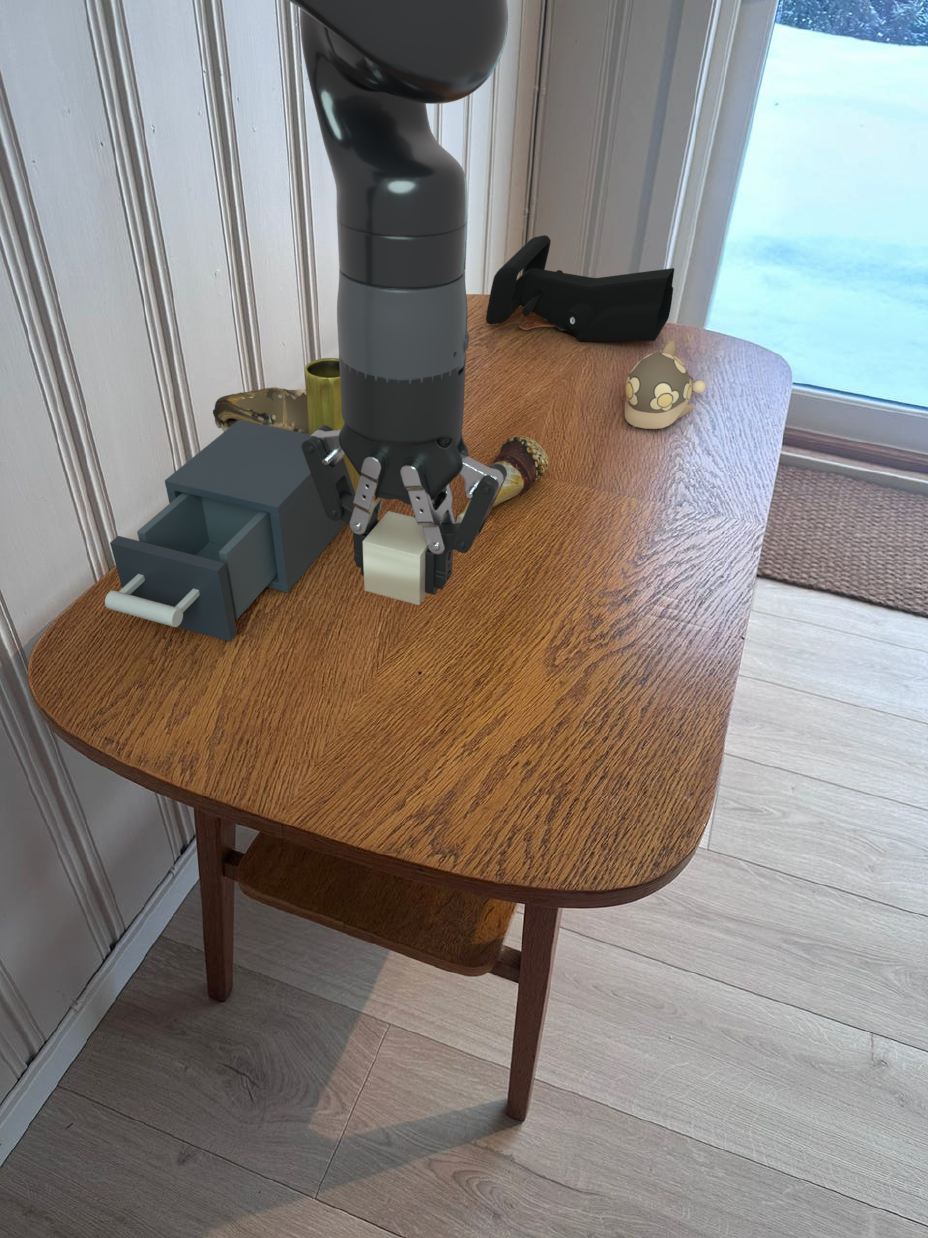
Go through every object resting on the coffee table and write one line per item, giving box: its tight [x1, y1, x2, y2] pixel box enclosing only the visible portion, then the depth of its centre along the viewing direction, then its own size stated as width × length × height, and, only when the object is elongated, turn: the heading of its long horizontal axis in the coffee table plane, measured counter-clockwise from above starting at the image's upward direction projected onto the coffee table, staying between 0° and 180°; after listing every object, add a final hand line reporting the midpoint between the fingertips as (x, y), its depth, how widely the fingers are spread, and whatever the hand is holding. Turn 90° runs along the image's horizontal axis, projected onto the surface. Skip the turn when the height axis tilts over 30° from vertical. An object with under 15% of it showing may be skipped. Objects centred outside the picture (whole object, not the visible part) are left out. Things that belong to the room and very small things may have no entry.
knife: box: [518, 320, 565, 331], centre depth 140 cm, size 13×1×3 cm
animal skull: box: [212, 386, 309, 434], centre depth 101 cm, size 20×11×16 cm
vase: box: [304, 357, 360, 494], centre depth 95 cm, size 6×6×14 cm
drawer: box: [104, 493, 277, 642], centre depth 79 cm, size 16×11×8 cm, turn 160°
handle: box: [485, 234, 675, 342], centre depth 135 cm, size 17×27×15 cm, turn 67°
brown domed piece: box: [624, 338, 707, 430], centre depth 116 cm, size 10×11×15 cm
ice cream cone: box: [455, 434, 549, 523], centre depth 98 cm, size 6×6×15 cm
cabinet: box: [164, 420, 347, 593], centre depth 88 cm, size 13×12×10 cm
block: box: [363, 510, 428, 606], centre depth 62 cm, size 4×4×4 cm
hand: (403, 578), depth 63 cm, fingers closed on block, 4 cm apart
